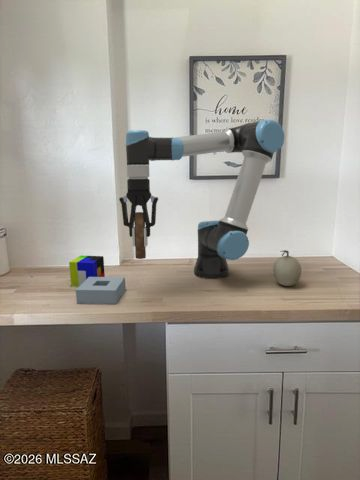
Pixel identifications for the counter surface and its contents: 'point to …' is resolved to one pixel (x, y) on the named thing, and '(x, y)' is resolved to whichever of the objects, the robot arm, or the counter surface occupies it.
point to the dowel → (139, 235)
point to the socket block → (101, 290)
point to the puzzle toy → (86, 268)
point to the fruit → (287, 270)
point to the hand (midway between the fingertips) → (140, 245)
